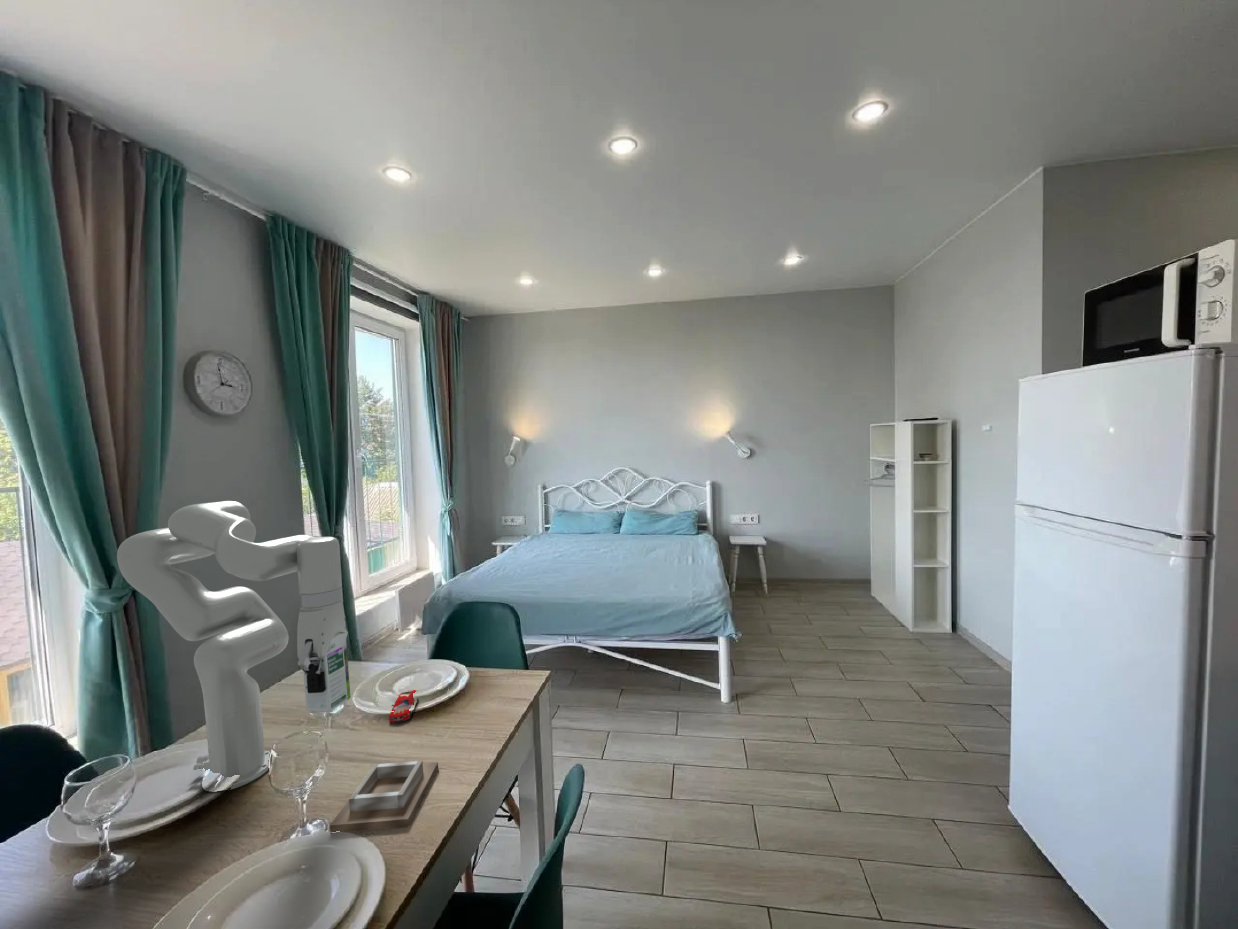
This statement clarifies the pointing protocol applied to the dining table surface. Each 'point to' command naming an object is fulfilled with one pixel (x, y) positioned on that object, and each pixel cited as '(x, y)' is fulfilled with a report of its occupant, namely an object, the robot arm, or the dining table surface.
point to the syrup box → (331, 678)
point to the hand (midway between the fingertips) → (327, 682)
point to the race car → (402, 707)
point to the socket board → (386, 797)
